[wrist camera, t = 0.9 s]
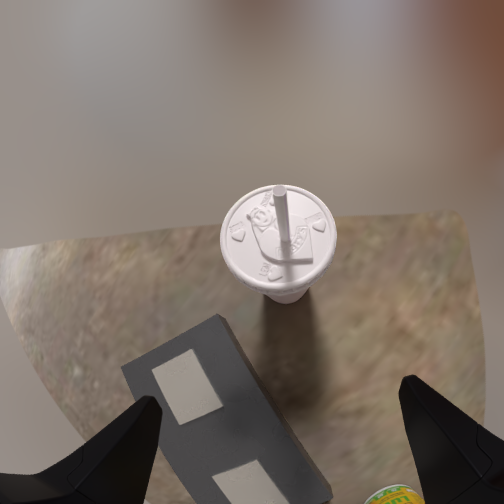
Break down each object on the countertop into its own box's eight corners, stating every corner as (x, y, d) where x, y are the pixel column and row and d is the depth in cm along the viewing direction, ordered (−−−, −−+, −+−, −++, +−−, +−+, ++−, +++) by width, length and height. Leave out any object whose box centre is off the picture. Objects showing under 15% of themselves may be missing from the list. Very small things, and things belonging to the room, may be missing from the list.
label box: (330, 485, 16) (333, 499, 13) (230, 522, 15) (222, 537, 12) (225, 318, 23) (216, 313, 20) (135, 367, 22) (118, 366, 20)
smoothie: (287, 335, 22) (272, 298, 9) (233, 285, 24) (162, 196, 11) (338, 278, 23) (379, 177, 10) (283, 234, 25) (264, 112, 12)
